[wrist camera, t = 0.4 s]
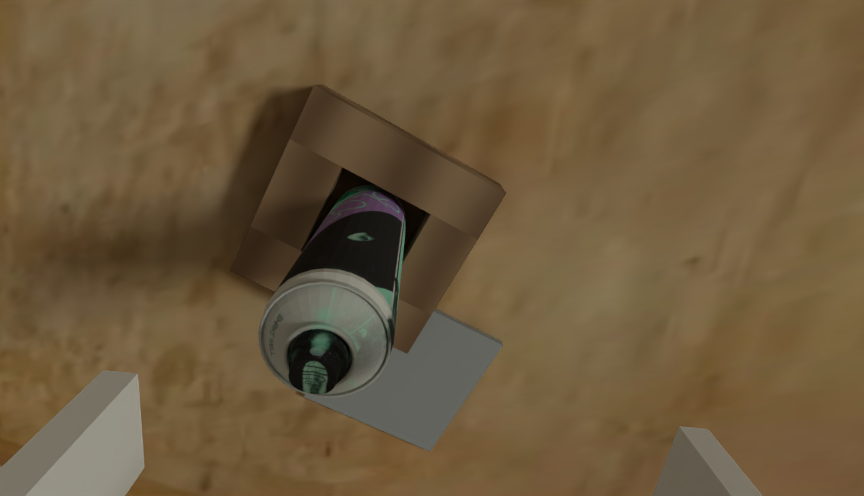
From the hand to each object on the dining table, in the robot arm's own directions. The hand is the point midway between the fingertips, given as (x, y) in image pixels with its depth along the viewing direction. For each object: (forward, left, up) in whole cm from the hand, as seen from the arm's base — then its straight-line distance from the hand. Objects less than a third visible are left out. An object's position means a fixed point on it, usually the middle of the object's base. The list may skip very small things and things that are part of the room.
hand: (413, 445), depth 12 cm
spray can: (-2, -3, -25) cm, 25 cm away
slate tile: (+6, -13, -25) cm, 29 cm away
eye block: (-2, -3, -25) cm, 25 cm away
